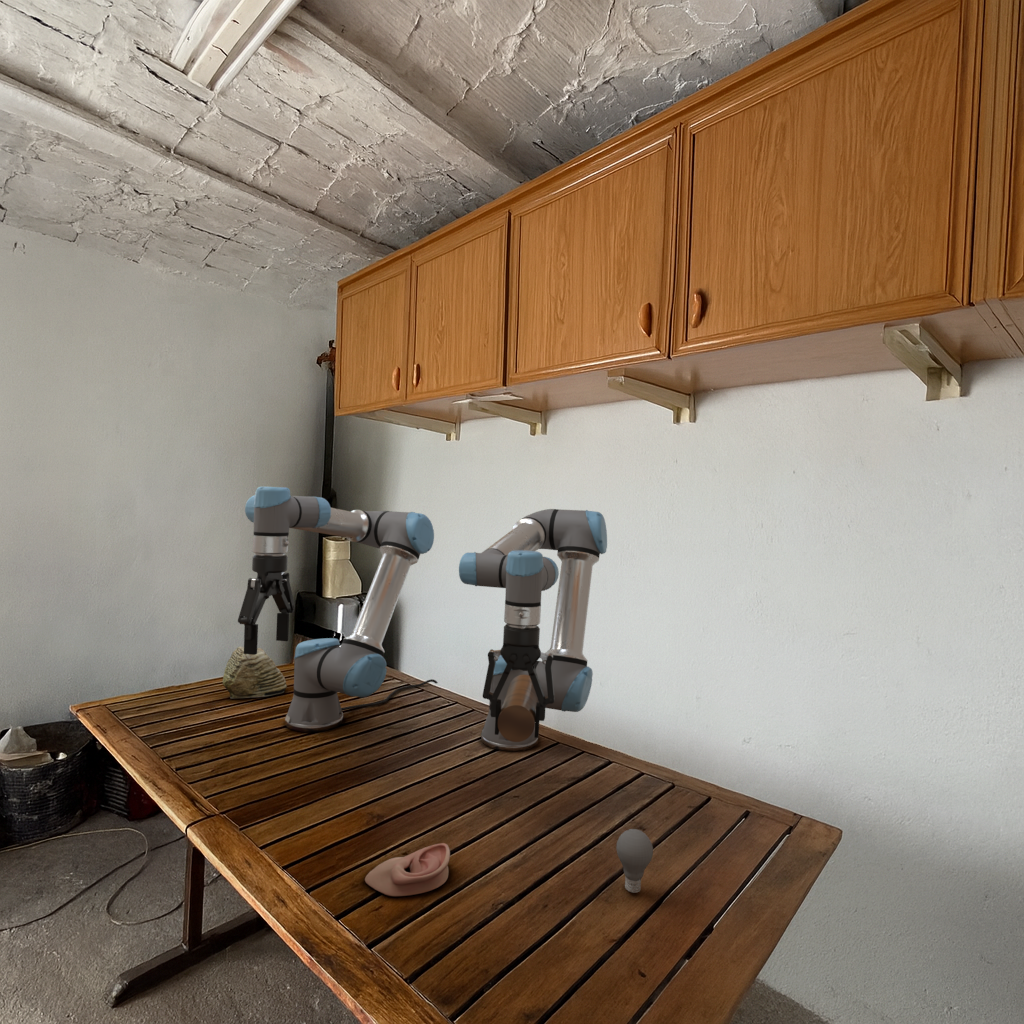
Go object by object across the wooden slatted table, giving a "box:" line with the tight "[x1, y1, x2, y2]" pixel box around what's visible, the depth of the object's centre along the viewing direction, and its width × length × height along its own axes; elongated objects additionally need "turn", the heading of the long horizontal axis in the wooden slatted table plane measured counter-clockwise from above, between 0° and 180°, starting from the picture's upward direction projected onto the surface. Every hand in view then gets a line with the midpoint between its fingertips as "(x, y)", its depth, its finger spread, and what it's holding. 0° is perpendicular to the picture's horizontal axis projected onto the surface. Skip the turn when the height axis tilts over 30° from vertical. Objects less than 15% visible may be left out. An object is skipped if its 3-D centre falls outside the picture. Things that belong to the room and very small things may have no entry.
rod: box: [498, 675, 538, 742], centre depth 141 cm, size 24×8×8 cm, turn 175°
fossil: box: [222, 646, 288, 699], centre depth 198 cm, size 9×18×15 cm, turn 132°
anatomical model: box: [364, 842, 451, 897], centre depth 107 cm, size 13×4×12 cm
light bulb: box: [615, 828, 654, 894], centre depth 106 cm, size 6×6×10 cm
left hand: (267, 647), depth 145 cm, fingers open, 13 cm apart
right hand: (516, 733), depth 132 cm, fingers closed on rod, 8 cm apart
